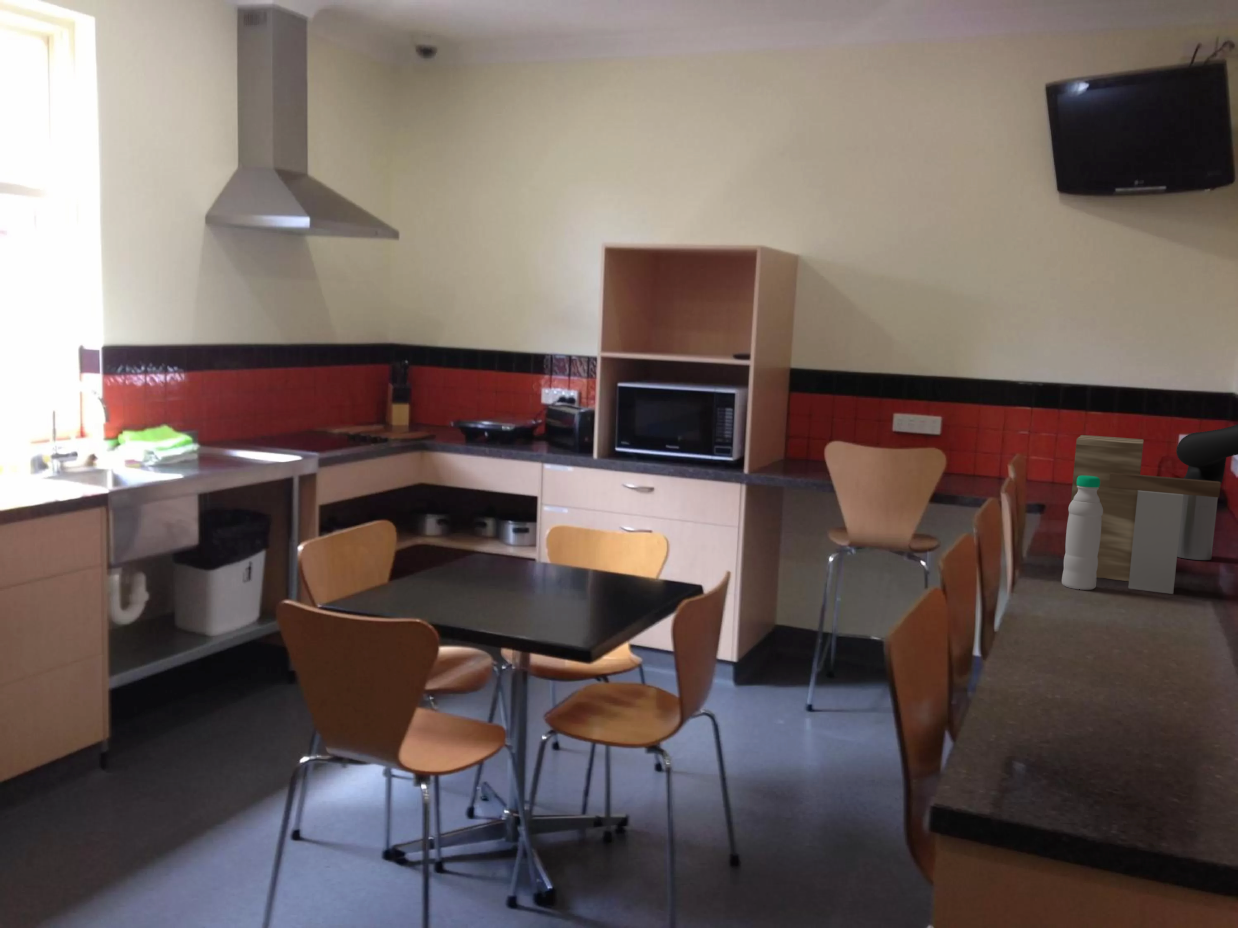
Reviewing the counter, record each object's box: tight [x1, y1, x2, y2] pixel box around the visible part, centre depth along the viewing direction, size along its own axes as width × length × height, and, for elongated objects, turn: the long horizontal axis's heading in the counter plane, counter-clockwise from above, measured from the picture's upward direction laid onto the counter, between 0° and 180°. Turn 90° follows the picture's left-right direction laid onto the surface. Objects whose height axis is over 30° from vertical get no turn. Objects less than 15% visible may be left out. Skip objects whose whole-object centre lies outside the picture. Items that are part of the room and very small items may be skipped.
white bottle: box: [1061, 475, 1103, 591], centre depth 240 cm, size 7×7×25 cm
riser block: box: [1128, 490, 1183, 595], centre depth 243 cm, size 8×9×22 cm
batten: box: [1109, 473, 1222, 499], centre depth 241 cm, size 3×22×3 cm, turn 64°
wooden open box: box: [1070, 434, 1145, 582], centre depth 260 cm, size 18×14×32 cm
